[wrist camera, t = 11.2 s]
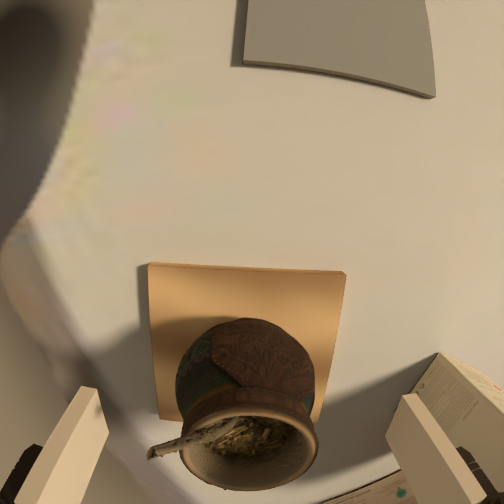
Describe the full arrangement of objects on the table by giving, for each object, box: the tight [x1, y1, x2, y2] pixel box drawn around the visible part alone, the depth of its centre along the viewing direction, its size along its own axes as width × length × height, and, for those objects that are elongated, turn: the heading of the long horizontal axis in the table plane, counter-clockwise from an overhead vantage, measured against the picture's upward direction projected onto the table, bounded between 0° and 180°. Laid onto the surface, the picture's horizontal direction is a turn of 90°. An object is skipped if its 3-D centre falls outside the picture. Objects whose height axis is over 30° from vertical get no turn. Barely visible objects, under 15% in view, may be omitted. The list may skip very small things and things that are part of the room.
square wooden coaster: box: [148, 262, 346, 423], centre depth 19 cm, size 11×11×1 cm
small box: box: [394, 353, 504, 492], centre depth 15 cm, size 8×6×13 cm
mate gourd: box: [147, 317, 319, 491], centre depth 13 cm, size 7×8×10 cm
